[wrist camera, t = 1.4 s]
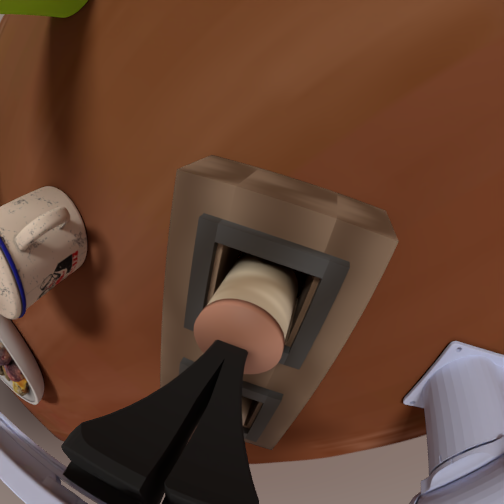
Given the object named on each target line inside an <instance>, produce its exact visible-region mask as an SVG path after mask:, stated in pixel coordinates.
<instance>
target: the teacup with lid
mask: <svg viewBox="0 0 504 504" xmlns="http://www.w3.org/2000/svg"><path fill="white" fill-rule="evenodd" d="M86 254H87V235H86V230H85V227H84V223H83V221H82V218H81V216H80V214H79V212H78V210H77V208H76V206H75V205H74V203H73V202H72V201H71V199H70V198H69V197H68V196H67V195H66V194H65V193H64V192H62V191H61V190H59V189H57V188H55V187H51V186H46V187H42V188H40V189H38V190H35V191H33V192H31V193H28V194H26V195H24V196H22V197H20V198H17V199H15V200H13V201H11V202H9V203H7V204H5V205H3V206H1V207H0V314H1V315H3V316H4V317H6V318H8V319H17V318H20V317H22V316H23V315H24V314H25V311H26V309H27V308H28V307H30V306H31V305H32V304H33V303H34V302H36V301H37V300H38V299H39V298H41V297H42V296H43V295H44V294H46V293H47V292H48V291H49V290H51V289H52V288H53V287H54V286H56V285H57V284H58V283H60V282H61V281H62V280H63V279H65V278H66V277H67V276H69V275H70V274H71V273H73V272H74V271H75V270H77V269H78V268H79V267H80V266H81V265H82V264H83V262H84V260H85V258H86Z"/></svg>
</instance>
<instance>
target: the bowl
mask: <svg viewBox="0 0 504 504" xmlns="http://www.w3.org/2000/svg"><path fill="white" fill-rule="evenodd" d="M0 378H1V379H2V380H3V382H4V383H5V384H6V385H7V386H8V387H9V388H11V389H12V390H13V391H14V392H15V393H16V394H17V395H19V396H20V397H21V398H23V399H24V400H25V401H27V402H29V403H31V404H34V405H36V404H38V403H39V401H40V400H41V399H42V397H43V393H44V381H43V377H42V374H41V371H40V368H39V366H38V364H37V362H36V360H35V358H34V356H33V354H32V353H31V351H30V349H29V347H28V346H27V344H26V342H25V341H24V339H23V338H22V336H21V335H20V333H19V332H18V330H17V329H16V327H15V326H14V324H13V323H12V321H11V320H10V319H8V318H6V317H4V316H3V315H1V314H0Z"/></svg>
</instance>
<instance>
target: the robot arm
mask: <svg viewBox="0 0 504 504" xmlns="http://www.w3.org/2000/svg"><path fill="white" fill-rule="evenodd" d="M459 347H460V348H459ZM457 348H458V349H457ZM247 356H248V352H247V350H245V349H242V348H239V347H237V346H234V345H231V344H228V343H226V342H223V341H221V340H215V341H214V343H213V344H212V345H211V346H210V347H209V348H208V349H207V350H206V352H205V353H204V354H203V355H202V356H200V357H199V358H198V359H197V360H196V361H195V362H194V363H193V364H192V365H191V366H189V367H188V368H187V369H186V370H185V371H184V372H182V373H181V374H180V375H178V376H177V377H176V378H174V379H173V380H172V381H170V382H169V383H168V384H166V385H165V386H163V387H162V388H160V389H159V390H157V391H155V392H154V393H152V394H150V395H149V396H147V397H145V398H143V399H141V400H139V401H138V402H136V403H134V404H132V405H130V406H127V407H125V408H123V409H120V410H118V411H116V412H113V413H111V414H108V415H105V416H102V417H99V418H96V419H93V420H89V421H86V422H83V423H81V424H80V425H79V426H78V427H76V428H75V429H74V430H73V431H72V432H71V433H70V435H69V436H68V437H67V439H66V440H65V442H64V443H63V444H62V450H63V451H64V453H65V454H66V455H67V456H68V458H69V459H70V460H71V462H70V464H69V465H68V467H66V466H65V465H63V464H62V463H60V462H59V461H58V460H56V459H55V458H54V457H52V456H51V455H50V454H48V453H47V452H46V451H45V450H43V449H42V448H41V447H39V446H38V445H37V444H36V443H35V442H33V441H32V440H31V439H30V438H29V437H28V436H26V435H25V434H24V433H23V432H22V431H21V430H20V429H18V428H17V427H16V426H15V425H14V424H13V423H12V422H11V421H10V420H9V419H8V418H7V417H6V416H4V414H2V413H1V412H0V479H1V480H2V481H3V482H4V483H5V484H6V485H7V486H8V487H9V488H10V489H11V490H12V491H13V492H14V493H15V494H16V495H17V496H18V497H19V498H20V499H21V500H23V502H24V503H26V504H87V503H86V502H85V501H83V500H82V499H81V498H79V497H78V496H77V495H75V494H74V493H73V492H71V491H70V490H68V489H67V488H66V487H64V486H63V485H61V481H60V479H61V480H62V481H64V482H65V483H67V484H68V485H70V486H71V487H73V488H74V489H76V490H77V491H79V492H80V493H81V494H83V495H85V496H86V497H88V498H89V499H91V500H93V501H94V502H96V503H97V504H160V502H161V500H162V497H163V495H164V493H165V498H164V500H163V502H162V504H259V500H258V497H257V494H256V491H255V487H254V484H253V480H252V476H251V472H250V468H249V463H248V458H247V453H246V448H245V441H244V432H243V421H242V383H243V374H244V367H245V362H246V358H247ZM403 403H404V404H406V405H411V406H416V407H421V408H424V413H425V422H426V432H427V444H428V460H429V477H428V478H426V479H424V480H422V481H421V492H420V493H418V494H417V495H416V496H415V497H414V498H413V499H412V500H411V502H410V503H409V504H504V355H502V354H498V353H495V352H491V351H488V350H485V349H481V348H478V347H475V346H471V345H468V344H465V343H462V342H458V341H453V342H451V343H450V344H449V345H448V346H447V347H446V349H445V350H444V351H443V353H442V354H441V355H440V357H439V358H438V359H437V360H436V362H435V363H434V364H433V365H432V366H431V368H430V369H429V370H428V371H427V372H426V374H425V375H424V376H423V377H422V378H421V380H420V381H419V382H418V383H417V384H416V385H415V386H414V387H413V389H412V390H411V391H410V392H409V393H408V394H407V395H406V396H405V397H404V399H403ZM196 426H197V427H196ZM195 428H196V429H195ZM194 430H195V431H194ZM193 431H194V432H193ZM192 433H193V434H192ZM191 435H192V436H191ZM190 437H191V438H190ZM189 439H190V440H189ZM188 441H189V442H188ZM59 478H60V479H59Z"/></svg>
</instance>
